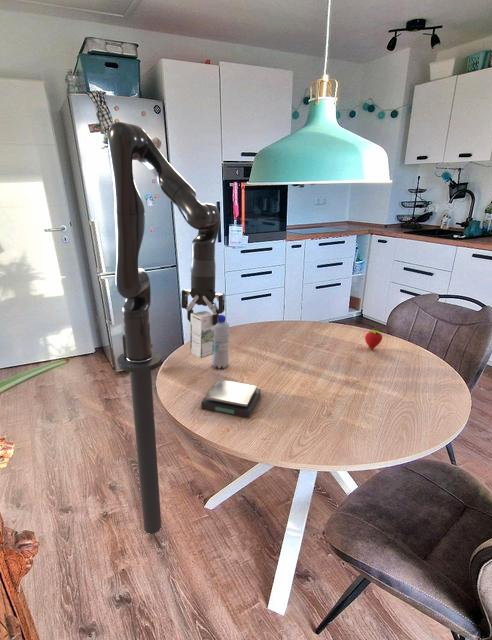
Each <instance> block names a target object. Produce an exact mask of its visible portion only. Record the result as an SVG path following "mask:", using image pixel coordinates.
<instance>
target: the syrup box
mask: <svg viewBox="0 0 492 640" xmlns="http://www.w3.org/2000/svg"><path fill="white" fill-rule="evenodd" d="M214 327H215V326H214V325H213V312H211V311H209V310H206V309H205V310H199V311H195V312H194V311H193V313H191V322H190V333H189V335H190V339H189V340H190V342H189V343H190V345H189V353H190V354H191V355H193V356H194V357H197V358H199V359H202V358H203V359H204V358H207V357H210V356H212V355H213V351H214Z"/></svg>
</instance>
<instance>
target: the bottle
mask: <svg viewBox="0 0 492 640" xmlns="http://www.w3.org/2000/svg"><path fill="white" fill-rule="evenodd" d="M230 334H231V331H230V323H228V321H226V316H225V315H223V314H219V321H218V323H217V324H216V325H215V327H214V351H213V355H211V365H212V366H213V368H215V369H216V368H217V369H219V370H220V369H221V368H222V369H225V368H226V367H228V365H229V361H230V359H229V342H230V341H229V340H230V339H229V338H230Z"/></svg>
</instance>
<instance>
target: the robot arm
mask: <svg viewBox="0 0 492 640" xmlns="http://www.w3.org/2000/svg"><path fill="white" fill-rule="evenodd" d="M107 147H108V148H107V149H108V155H109V162H110V169H111V177H112V186H113V187H112V189H113V190H112V191H113V203H114V204H113V208H114V209H113V210H114V212H113V213H114V226H115V249H116V260H115V262H116V264H115V279H114V280H115V288H116V291H117V292H118V294H119V295H120V297H122V298H124V299H125V301H124V304H123V305H122V307H121V314H122V323H123V334H122V336H121V338H122V339H121V340H122V350H123V353H124V360H127V361H128V362H131V363H145V362H148V361H150V360H151V359H152V351H153V344H152V334H151V331H152V330H151V317H150V308H151V304H152V299H151V297H152V295H151V294H152V293H151V292H152V291H151V289H152V288H151V281H150V280H151V279H150V276H149V274H148V273H147V271H146V270H145V269H143V268H141V267H139V255H140V251H141V247H142V243H143V240H144V236H145V232H146V231H145V230H146V212H145V204H144V202H143V199H142V197H141V194H140V192H139V190H138V188H137V185H136V182H135V179H134V173H133V172H134V171H133V167H134V166H133V161H138V162H139V163H140V164H142V165H143V166H145V167H146V168H147V169H148V170H149V171H150V172H151V173H152V175H153V177H154V179H155V181H156V184H157V186H158V187H159V189H160V190H161V192H162V193H163V194H164V195H165V196H166V197H167V198H168V199H169V201H171V202H172V204H174V205H175V206H176V207H177V209H178V211H179V212H180V215H181V216H182V217H183V219H184V221H185V222H186V223H187V225H189V226H190V227H191V228H192V229H195V230H198V231H197V235H196V237H194V238H193V239H192V240H191V241H192V242H191V261H190V289H188V288H184V289H182V290H181V292H180V293H181V294H180V295H181V297H180V298H181V299H180V300H181V303H180V304H181V305H180V307H181V309H185V310H186V314H187V315H186V319H187V320H188V322H189V323H191V313H194V307H195V306H196V305H197V306H203V307H208V309H209V310H211V311H210V312H211V313H212V314H213V325H214V326H215V325H216V324H217V323H218V321H219V315H222V314H223V313H224V312H225V311H226V310H225V309H226V308H225V307H226V306H225V305H226V304H225V303H226V295H225V293H216V242H217V240H218V239H217V238H218V236H219V230H220V225H221V214H220V211H219V209H218V207H217V206H216V205H215V204H213V203H210V202H205V203H203V202H202V203H201V202H200V201H199V200H198V199H197V193H196V190H195V189H194V188H193V186H192V185H191V184H190V183H189V182H188V181H186V179H185V178H184V177H183V176H182V175H181V174H180V173H179V172H178V171H177V170H176V169H175V168H174V167H173V166H172V165H171V164H170V163H169V162H168V159H166V158H165V156H164V155H163V154H162V152H161V151H160V150H159V148H158V147H157V146H156V144H155V143H154V141H153V140H152V138H151V137H150V136H149V134H148V133H147V132H146V131H145V130H144V129H143V128H142V127H141V126H139V125H137V124H131V123H127V122H122V121H115V122H113V123H112V124H111V125H110V127H109V130H108V133H107ZM189 296H190V297H191V298H192V299H191V301H190V302H189ZM215 299H216V300H217V302H218V306H217V302H215Z"/></svg>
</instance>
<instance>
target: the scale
mask: <svg viewBox="0 0 492 640" xmlns="http://www.w3.org/2000/svg"><path fill="white" fill-rule="evenodd" d="M216 383H217V381H216V382H215V384H216ZM213 387H214V385H213V386H212V387H211V389H212V388H213ZM209 392H210V390H209V391H208V393H209ZM261 392H262V391H261V388H257V389H256V391H255V393H254V395H253V397H252V398H251V400H250V402H249V404H248V406H247V407H245V406H240V405H235V404H229V403H224V402H219V401H214V400H208V399H206V396H207V394H206V395H205V397H204V398H203V399H202V400H201V405H200V406H201V407H200V408H201V410H205V411H210V412H216V413H220V414H221V413H222V414H225V415H229V416H230V415H231V416H236V417H240V418H246V419H249V418H250V417H251V415H252V413H253V411H254V409H255V407H256V405H257V403H258V401H259V399H260V398H261Z"/></svg>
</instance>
